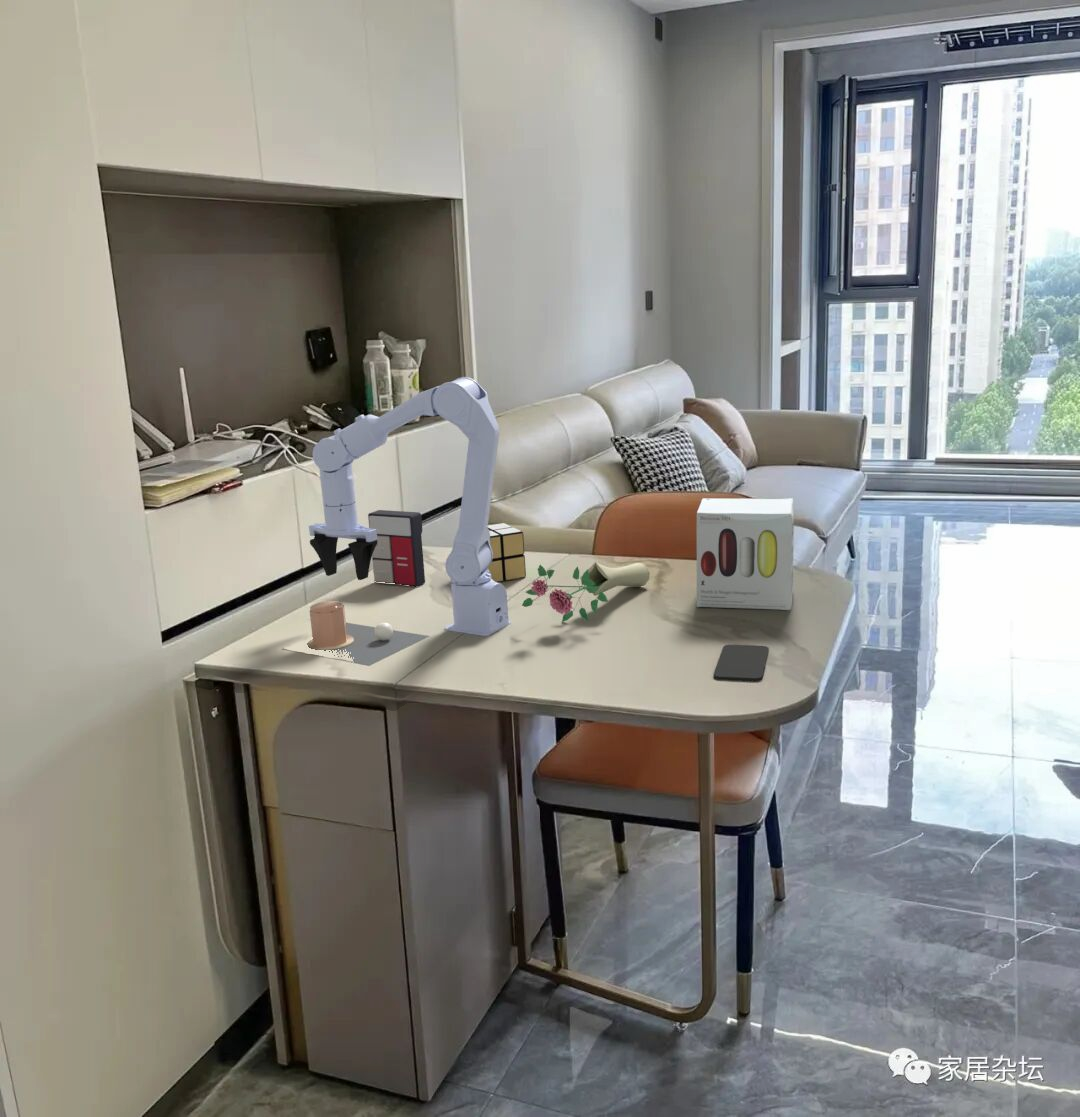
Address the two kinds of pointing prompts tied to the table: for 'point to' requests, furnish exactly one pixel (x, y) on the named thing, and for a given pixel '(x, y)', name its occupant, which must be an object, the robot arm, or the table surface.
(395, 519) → the grey and red box
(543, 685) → the table surface
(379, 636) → the ball
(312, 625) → the cup
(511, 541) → the puzzle cube
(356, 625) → the placemat
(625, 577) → the flower vase
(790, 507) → the supplement box
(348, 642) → the coaster
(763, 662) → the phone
